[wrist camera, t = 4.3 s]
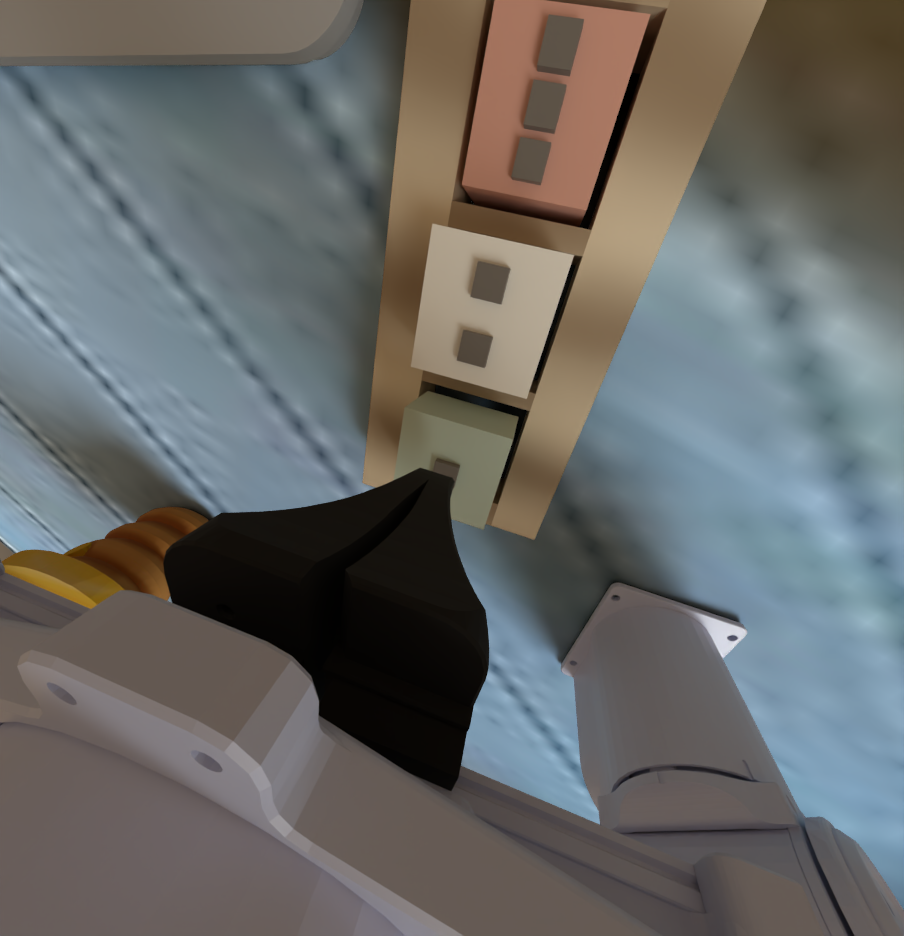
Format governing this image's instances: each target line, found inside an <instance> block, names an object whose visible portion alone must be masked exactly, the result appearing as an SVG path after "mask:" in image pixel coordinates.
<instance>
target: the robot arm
mask: <svg viewBox="0 0 904 936" xmlns="http://www.w3.org/2000/svg"><path fill="white" fill-rule="evenodd" d="M454 483H455V481H454V479H453V478H452V477H449V476H445V475H442V474H439V473H436V472H433V471H430V470H426V469H423V468H418V469H416V470H414V471H412V472H410V473H408V474H406V475H404V476H402V477H400V478H398V479H395V480H393V481H391V482H389V483H387V484H384V485H382V486H379V487H377V488H374V489H372V490H369V491H366V492H364V493H361V494H358V495H355V496H352V497H348V498H345V499H341V500H337V501H333V502H328V503H323V504H318V505H313V506H308V507H302V508H294V509H286V510H276V511H264V512H239V513H221V514H219V515H217V516H216V517H214V518H213V519H211V520H209V521H208V522H206V523H205V524H203V525H202V526H200V527H198V528H197V529H195V530H194V531H192V532H190V533H189V534H187V535H186V536H184V537H183V538H181V539H179V540H178V541H176V542H175V543H173V544H172V545H171V546H170V547H169V548H168V549H167V550H166V553H165V557H164V561H163V566H164V574H165V578H166V582H167V585H168V589H169V592H170V596H171V600H172V603H171V602H169V601H166V600H164V599H161V598H159V597H156V596H154V595H151V594H146V593H141V592H136V591H132V590H120V591H118V592H116V593H115V594H113V595H112V596H110V597H108V598H107V599H105V600H104V601H102V602H101V603H99V604H98V605H96V606H95V607H93V608H92V609H90V608H87V607H85V606H83V605H80V604H78V603H76V602H73V601H71V600H68V599H66V598H64V597H61V596H59V595H57V594H54V593H52V592H50V591H47V590H45V589H42V588H40V587H38V586H35V585H33V584H31V583H28V582H26V581H24V580H21V579H19V578H17V577H14V576H12V575H9V574H7V573H5V568H4V566H3V564H2V562H1V560H0V936H904V910H903V908H902V907H901V905H900V904H899V902H898V901H897V899H896V897H895V896H894V894H893V893H892V891H891V890H890V888H889V887H888V885H887V884H886V882H885V881H884V879H883V878H882V876H881V875H880V873H879V872H878V870H877V869H876V867H875V866H874V864H873V863H872V862H871V860H870V859H869V857H868V856H867V855H866V853H865V852H864V851H863V849H862V848H861V847H860V846H859V844H858V843H857V842H856V841H854V840H853V839H851V838H850V837H849V836H847V835H846V834H844V833H843V832H841V831H840V830H838V829H835V828H834V826H833V825H832V824H831V823H830V822H829V821H828V820H826V819H825V818H823V817H808V818H806V817H805V816H804V815H803V813H802V812H801V811H800V810H799V808H798V806H797V804H796V802H795V800H794V798H793V796H792V794H791V792H790V790H789V788H788V786H787V784H786V782H785V780H784V778H783V776H782V774H781V772H780V770H779V768H778V767H777V765H776V763H775V761H774V759H773V757H772V755H771V753H770V751H769V749H768V747H767V745H766V743H765V741H764V739H763V737H762V735H761V733H760V731H759V729H758V727H757V725H756V723H755V721H754V719H753V717H752V715H751V713H750V712H749V710H748V708H747V706H746V704H745V702H744V700H743V698H742V696H741V694H740V692H739V690H738V688H737V686H736V684H735V682H734V680H733V678H732V676H731V674H730V672H729V670H728V668H727V666H726V664H725V662H724V660H723V658H724V657H725V656H726V655H727V654H728V653H729V652H730V651H731V650H732V649H733V648H734V647H735V646H736V645H737V644H738V643H739V642H740V641H741V640H742V639H743V638H744V637H745V636H746V634H747V630H746V628H745V627H744V625H743V624H741V623H739V622H736V621H733V620H730V619H727V618H724V617H721V616H718V615H715V614H712V613H709V612H706V611H703V610H700V609H697V608H694V607H691V606H688V605H685V604H682V603H679V602H676V601H673V600H670V599H667V598H664V597H661V596H658V595H655V594H652V593H650V592H647V591H644V590H641V589H638V588H635V587H632V586H629V585H626V584H623V583H613V584H612V585H611V586H610V587H609V589H608V590H607V592H606V593H605V595H604V597H603V598H602V600H601V601H600V603H599V605H598V606H597V608H596V609H595V611H594V613H593V614H592V616H591V617H590V619H589V621H588V622H587V624H586V625H585V627H584V629H583V630H582V632H581V633H580V635H579V637H578V638H577V640H576V641H575V643H574V645H573V646H572V648H571V649H570V651H569V653H568V654H567V656H566V657H565V659H564V661H563V662H562V664H561V671H562V672H563V673H564V674H566V675H568V676H571V677H574V688H575V701H576V713H577V726H578V739H579V751H580V763H581V769H582V774H583V777H584V781H585V784H586V786H587V789H588V791H589V793H590V796H591V798H592V800H593V802H594V804H595V805H596V807H597V809H598V811H599V818H600V825H599V824H597V823H595V822H592V821H590V820H587V819H585V818H583V817H580V816H578V815H576V814H573V813H571V812H569V811H566V810H564V809H562V808H559V807H557V806H554V805H552V804H550V803H547V802H545V801H543V800H540V799H538V798H536V797H533V796H531V795H528V794H526V793H524V792H521V791H519V790H517V789H514V788H512V787H510V786H507V785H505V784H503V783H500V782H498V781H495V780H493V779H491V778H488V777H486V776H484V775H481V774H479V773H477V772H474V771H472V770H470V769H467V768H465V767H462V766H461V761H462V756H463V750H464V745H465V739H466V734H467V731H468V729H469V726H470V723H471V717H472V712H473V706H474V703H475V701H476V699H477V697H478V695H479V693H480V690H481V688H482V686H483V684H484V682H485V679H486V676H487V672H488V666H489V638H488V627H487V619H486V611H485V609H484V607H483V606H482V604H481V602H480V601H479V599H478V597H477V595H476V594H475V592H474V590H473V588H472V586H471V584H470V582H469V580H468V577H467V575H466V573H465V570H464V568H463V565H462V562H461V560H460V557H459V554H458V551H457V547H456V544H455V539H454V535H453V529H452V522H451V512H450V498H451V494H452V490H453V487H454ZM613 595H618V596H616V597H614V596H613Z"/></svg>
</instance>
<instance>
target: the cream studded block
mask: <svg viewBox="0 0 904 936" xmlns="http://www.w3.org/2000/svg"><path fill="white" fill-rule="evenodd" d="M573 257H574V255H571V254H567V253H562V252H558V251H553V250H549V249H544V248H540V247H535V246H531V245H526V244H522V243H517V242H513V241H508V240H504V239H499V238H495V237H490V236H486V235H481V234H477V233H472V232H468V231H464V230H459V229H455V228H450V227H446V226H441V225H437V224H432V230H431V236H430V243H429V249H428V256H427V263H426V269H425V276H424V282H423V289H422V296H421V302H420V309H419V315H418V322H417V329H416V335H415V342H414V348H413V355H412V362H411V367H414V368H417V369H421V370H425V371H428V372H432V373H435V374H439V375H442V376H446V377H450V378H453V379H457V380H460V381H464V382H468V383H471V384H475V385H478V386H482V387H485V388H489V389H493V390H496V391H500V392H503V393H507V394H510V395H514V396H518V397H521V398H525V399H527V397H528V393H529V390H530V387H531V384H532V381H533V378H534V375H535V372H536V369H537V366H538V363H539V360H540V357H541V354H542V351H543V348H544V345H545V342H546V339H547V336H548V333H549V330H550V327H551V324H552V321H553V318H554V315H555V312H556V309H557V306H558V303H559V299H560V296H561V293H562V290H563V287H564V284H565V281H566V278H567V275H568V272H569V269H570V266H571V263H572V260H573Z"/></svg>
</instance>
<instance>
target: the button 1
mask: <svg viewBox="0 0 904 936" xmlns="http://www.w3.org/2000/svg"><path fill="white" fill-rule="evenodd" d="M517 422H518V417H517V416H514V415H510V414H507V413H503V412H500V411H496V410H493V409H489V408H486V407H482V406H479V405H475V404H472V403H468V402H465V401H461V400H458V399H454V398H451V397H448V396H444V395H441V394H437V393H434V392H430V391H427V392H426V393H424V394H423V395H421V396H420V397H419V398H417V399H416V400H414V401H413V402H411V403H410V404H409V405H407V406H406V407H405V408H404V414H403V421H402V427H401V434H400V441H399V447H398V454H397V460H396V467H395V474H394V480H395V479H398V478H400V477H402V476H404V475H406V474H408V473H410V472H412V471H414V470H416V469H418V468H423V469H426V470H430V471H433V472H436V473H439V474H442V475H445V476H449V477H452V478H453V479H454V481H455V483H454V487H453V490H452V494H451V498H450V512H451V519H453V520H456V521H459V522H462V523H465V524H468V525H471V526H474V527H477V528H480V529H483V530H484V527H485V524H486V521H487V518H488V515H489V512H490V509H491V506H492V503H493V500H494V497H495V494H496V491H497V487H498V484H499V481H500V478H501V475H502V472H503V469H504V466H505V463H506V460H507V457H508V454H509V451H510V448H511V445H512V442H513V439H514V434H515V430H516V426H517Z"/></svg>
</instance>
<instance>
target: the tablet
mask: <svg viewBox="0 0 904 936" xmlns="http://www.w3.org/2000/svg"><path fill="white" fill-rule="evenodd" d="M363 2H364V0H0V66H112V65H295V64H303V63H308V62H310V61H313V60H319V59H323V58H325V57H328V56H330V55H331V54H333V53H334V52H336V51H337V50H338V49H339V48H340V47H341V46H342V45H343V44H344V43H345V42H346V40H347V39H348V37H349V36H350V35H351V33H352V31H353V29H354V27H355V25H356V23H357V21H358V18H359V15H360V13H361V10H362V6H363Z"/></svg>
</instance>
